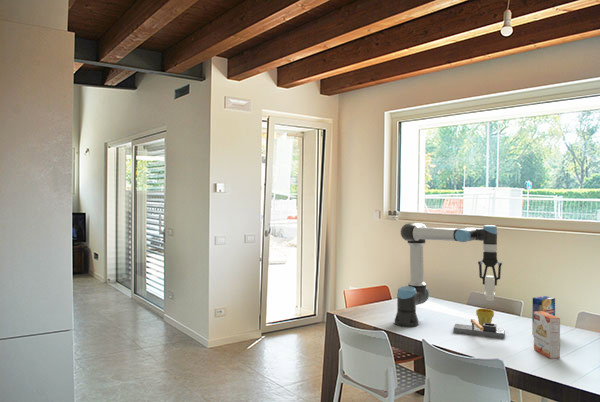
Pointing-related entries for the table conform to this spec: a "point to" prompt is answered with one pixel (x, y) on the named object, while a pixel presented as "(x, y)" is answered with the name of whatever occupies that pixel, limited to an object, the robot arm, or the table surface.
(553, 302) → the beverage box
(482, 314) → the plant pot
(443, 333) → the table surface
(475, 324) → the orange rectangular bar
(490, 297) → the plug
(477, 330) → the power strip
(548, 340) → the cracker box
